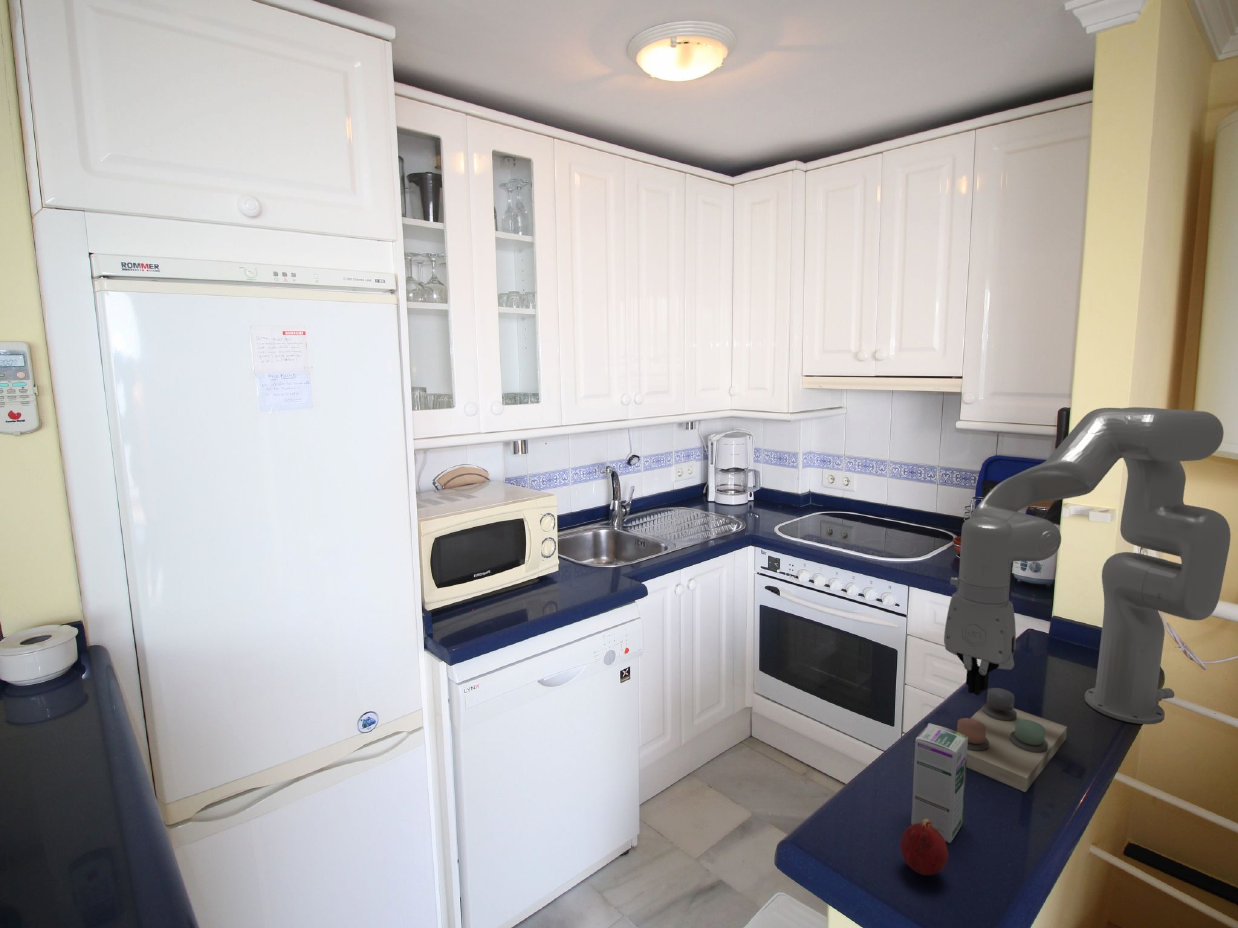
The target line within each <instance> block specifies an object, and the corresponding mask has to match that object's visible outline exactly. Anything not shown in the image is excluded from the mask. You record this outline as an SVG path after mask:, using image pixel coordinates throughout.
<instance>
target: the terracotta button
mask: <svg viewBox="0 0 1238 928" xmlns="http://www.w3.org/2000/svg"><path fill="white" fill-rule="evenodd" d="M970 718H971V717H970ZM970 718H969V717H962V718H959V719H958V720H957V724H956V725H957V728H956V730H957V732H958V733H961V734H963V735H965V736H967V737H968V742H969V743H974V744H980V743H983V742H985V736H986V726H985V725H984V724H983V723H981V722H980V721H977V720H974V719H970Z"/></svg>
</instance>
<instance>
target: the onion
mask: <svg viewBox="0 0 1238 928" xmlns="http://www.w3.org/2000/svg"><path fill="white" fill-rule="evenodd" d="M931 825H932V822H931V821H930V820H929V819H923V821H922V822H921V823H916V824H913V825H911V824H910V825H909V826H908V827H907V828H905V830H904V831H903V834H902V836H901V840H900V849H901V850H900V851H901V855H902V857H903V858H904V861H905V862H906V864H907V866H908V867H909V868H911V870H913V871H914V872H915V873H918V874H920V875H922V876H933V875H937V874H939V872H942V871H943V869H944V868H945V867H946V865H947V862H948V859H949V850H948V847H947V844H946V843H947V842H946V841H945V840H944V838H943V837H942V835H941V834H940V833H939V832H938V831H937V830H936V829H935V828H934V827H932V826H931Z"/></svg>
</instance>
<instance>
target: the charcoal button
mask: <svg viewBox="0 0 1238 928" xmlns="http://www.w3.org/2000/svg"><path fill="white" fill-rule="evenodd" d="M1015 697H1016V696H1015V694H1013V692H1011V691H1009V690H1008V689H1004V688H1002V687H1001V688H999V687H990V688H987V696H986V703H988V704H989V705H990V706H991V707H993V708H996V709H999V710H1005V711H1008V710H1012V709H1013V708H1014V706H1015Z"/></svg>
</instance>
